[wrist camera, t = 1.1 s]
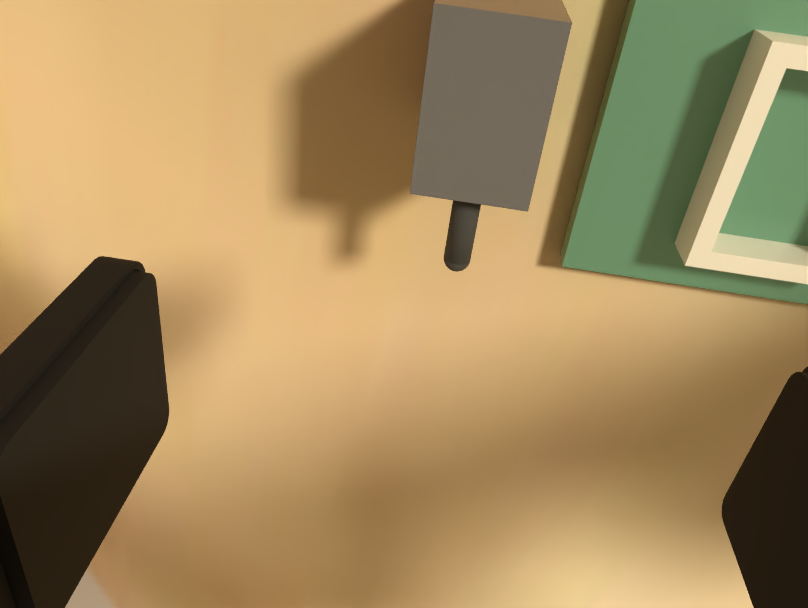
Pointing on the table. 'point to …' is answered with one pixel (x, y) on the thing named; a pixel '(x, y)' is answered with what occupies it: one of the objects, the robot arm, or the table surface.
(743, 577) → the robot arm
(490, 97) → the plug
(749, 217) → the circuit board
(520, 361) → the table surface
